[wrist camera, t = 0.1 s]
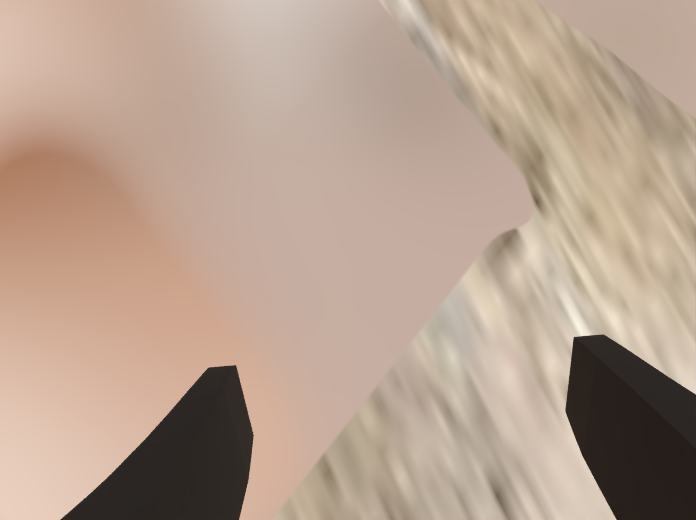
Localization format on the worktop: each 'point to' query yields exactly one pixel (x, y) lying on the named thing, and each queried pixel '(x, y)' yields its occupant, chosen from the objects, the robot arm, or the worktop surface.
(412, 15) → the worktop surface
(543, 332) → the worktop surface
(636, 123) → the worktop surface
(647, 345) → the worktop surface
